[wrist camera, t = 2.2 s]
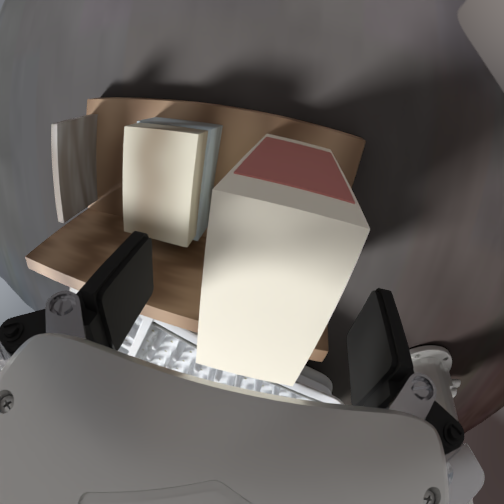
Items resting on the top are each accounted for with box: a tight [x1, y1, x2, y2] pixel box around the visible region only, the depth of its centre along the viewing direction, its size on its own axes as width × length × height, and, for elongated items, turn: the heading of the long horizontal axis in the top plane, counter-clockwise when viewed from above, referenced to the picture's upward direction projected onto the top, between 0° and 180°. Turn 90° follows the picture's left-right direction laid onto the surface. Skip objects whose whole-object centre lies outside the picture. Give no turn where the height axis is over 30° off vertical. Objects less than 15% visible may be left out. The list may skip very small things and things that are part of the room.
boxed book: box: [196, 134, 370, 386], centre depth 17 cm, size 5×9×14 cm, turn 171°
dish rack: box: [70, 287, 344, 405], centre depth 37 cm, size 32×37×8 cm
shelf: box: [25, 97, 366, 362], centre depth 20 cm, size 25×13×12 cm, turn 80°
